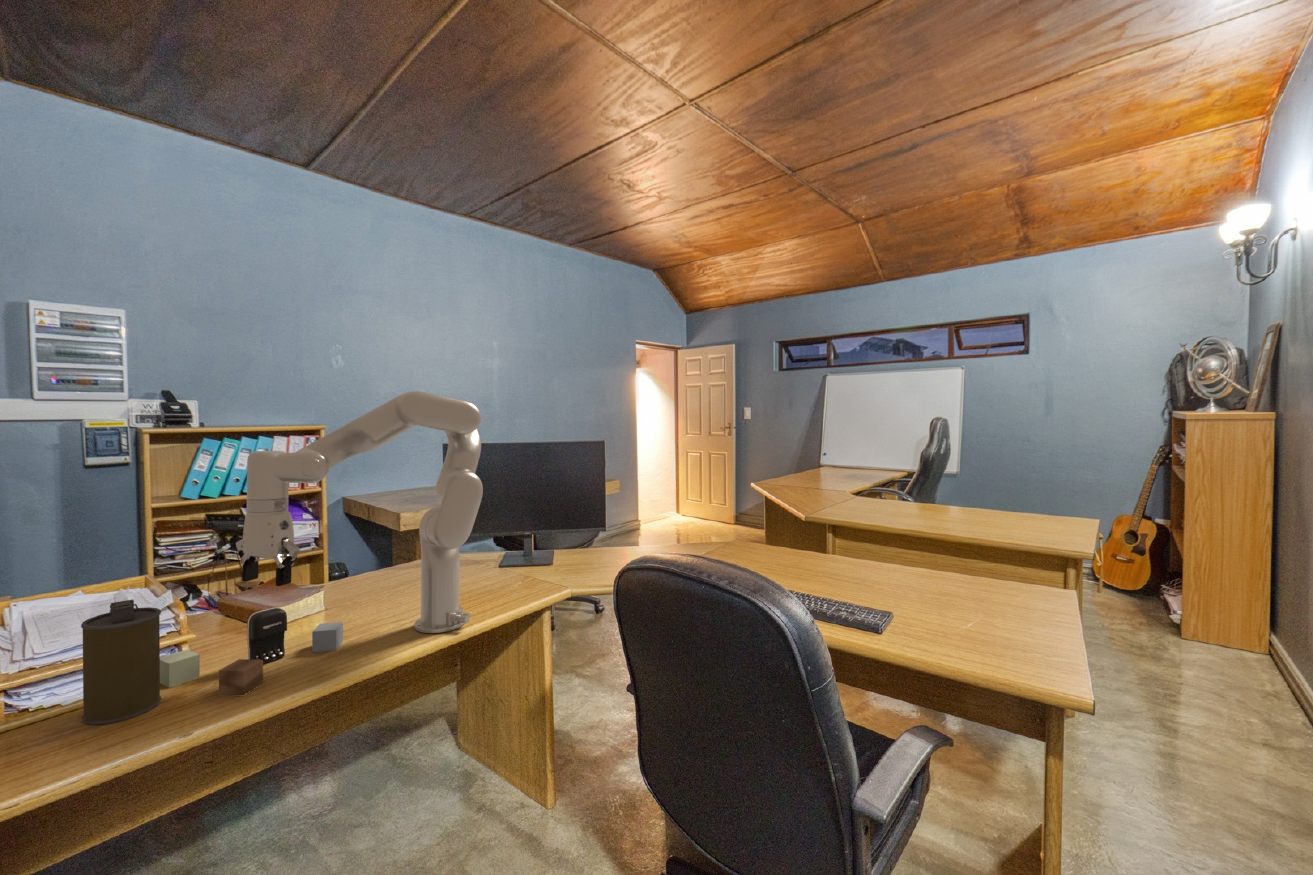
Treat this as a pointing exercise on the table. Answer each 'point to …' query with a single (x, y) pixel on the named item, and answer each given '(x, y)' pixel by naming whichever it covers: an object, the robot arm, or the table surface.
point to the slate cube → (327, 637)
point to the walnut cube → (240, 677)
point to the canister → (121, 663)
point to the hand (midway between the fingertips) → (266, 582)
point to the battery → (266, 634)
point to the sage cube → (179, 668)
